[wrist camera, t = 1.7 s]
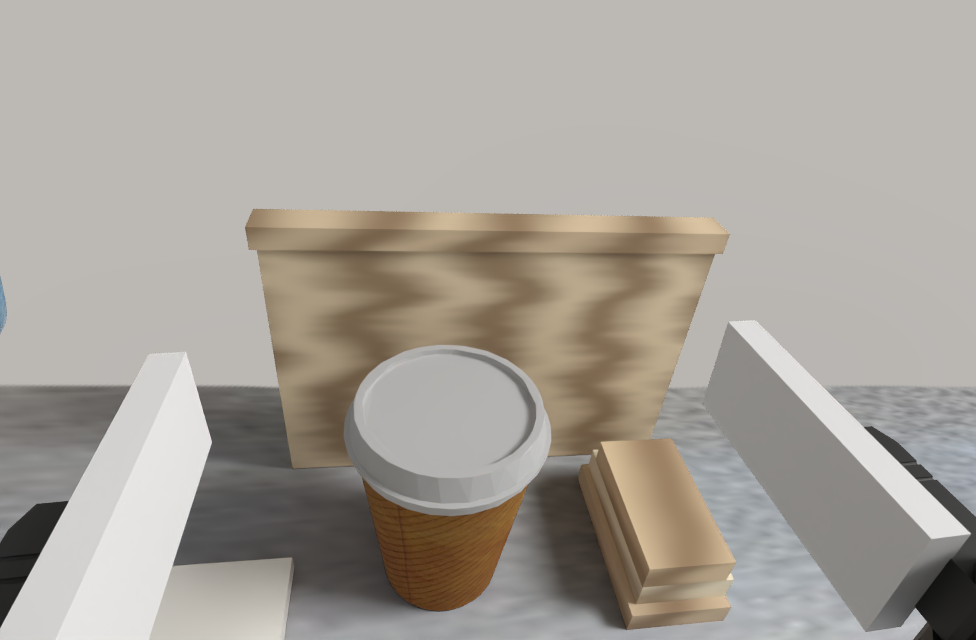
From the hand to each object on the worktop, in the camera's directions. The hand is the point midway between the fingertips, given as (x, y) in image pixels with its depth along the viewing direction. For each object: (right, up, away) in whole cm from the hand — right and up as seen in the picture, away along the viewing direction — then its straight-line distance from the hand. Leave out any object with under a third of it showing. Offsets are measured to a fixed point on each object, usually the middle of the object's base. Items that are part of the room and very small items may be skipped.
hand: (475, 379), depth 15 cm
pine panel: (0, -7, +25) cm, 27 cm away
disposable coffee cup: (-2, -12, +19) cm, 23 cm away
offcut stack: (+10, -12, +21) cm, 26 cm away
